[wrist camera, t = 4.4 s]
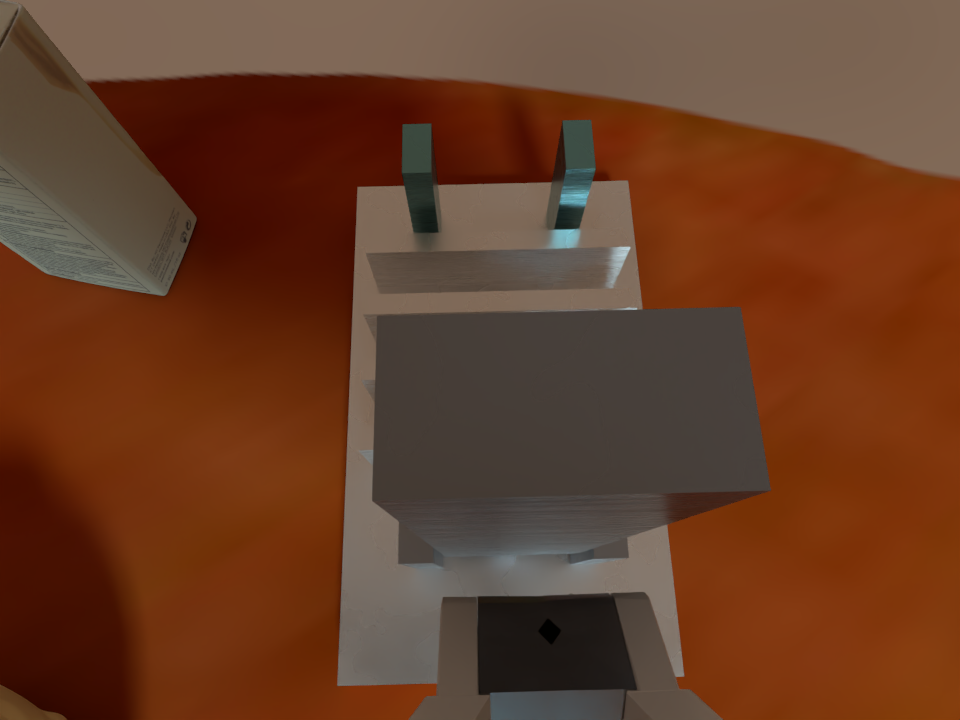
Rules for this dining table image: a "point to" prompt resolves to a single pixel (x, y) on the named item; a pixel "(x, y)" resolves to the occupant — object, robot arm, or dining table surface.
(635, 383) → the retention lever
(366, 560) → the grey dish rack
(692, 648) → the dining table surface
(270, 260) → the dining table surface
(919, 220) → the dining table surface
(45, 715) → the sculpture
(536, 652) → the robot arm
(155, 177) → the skincare box
